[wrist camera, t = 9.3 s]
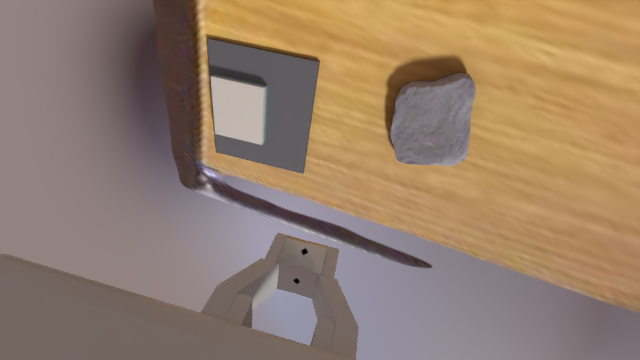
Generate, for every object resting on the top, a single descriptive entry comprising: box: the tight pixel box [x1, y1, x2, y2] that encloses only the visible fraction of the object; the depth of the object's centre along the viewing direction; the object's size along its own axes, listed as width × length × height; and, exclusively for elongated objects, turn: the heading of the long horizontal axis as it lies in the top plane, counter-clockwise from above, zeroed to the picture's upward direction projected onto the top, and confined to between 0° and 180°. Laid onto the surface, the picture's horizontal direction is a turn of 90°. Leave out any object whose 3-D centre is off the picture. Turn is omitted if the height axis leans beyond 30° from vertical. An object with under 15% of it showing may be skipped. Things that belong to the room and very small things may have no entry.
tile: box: [211, 74, 268, 145], centre depth 40 cm, size 9×2×8 cm
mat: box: [207, 38, 320, 174], centre depth 41 cm, size 18×16×1 cm
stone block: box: [390, 73, 476, 166], centre depth 35 cm, size 12×5×10 cm
